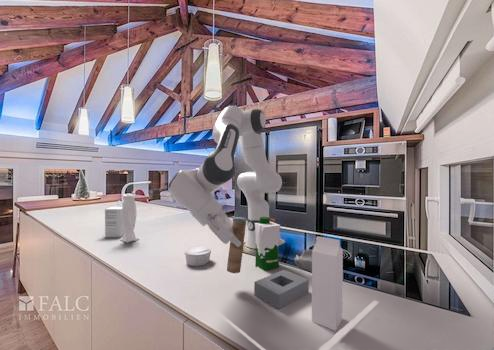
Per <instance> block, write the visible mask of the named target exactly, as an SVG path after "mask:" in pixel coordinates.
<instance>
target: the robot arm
mask: <svg viewBox="0 0 494 350" xmlns="http://www.w3.org/2000/svg"><path fill="white" fill-rule="evenodd" d="M266 119H267V118H266V116H265V113H264V112H263V111H262V110H261V109H258V108H254V109H245V110H242V109H241V108H240V107H238V106H236V105H229V106H226V107H224V109H223V110H222V111H221V112H220V114H219V115H218V117H217V119H216V121H215V123H214V126H213V128H212V133H211V134H212V135H211V136H212V139H213V140H214V142H215V143H216V144H217V145H216V147H215V150H213V151H212V152H210V153H209V154H208V155H207V157H206V158H205V159H204V161H203V163H202V164H201V165H200V166H199V167H197V168H194V169H188V170H187V169H186V170H185V169H180V170H179V171H178V172H176V173H175V174H174V176H173V177H172V179H170V182H168V187H167V189H168V191H169V193H170V194H171V196H173V198H174V199H175V200H176V201H177V202H178V203H179V204H180V205H181V206H182V207H183V208H185V209H187V210H188V211H189V212H190V214H191V216H192V218H194V219H195V220H196V221H197V222H198V223H199V224H200V225H201V226H202V227H205V226H206V225H207V226H208V228H209V229H210V231H211V232H212V233H213V234H214V235H215V236H216V237H217V238H218V239H219V240H220V241H221V242H222V244H225V245H228V243H230V242H232V243H234V244H235V245H236V246H237V247H239V246H240V245H241V244H242V243H241V241H240V240H239V239H238V238H237V237H236V236H235V235H234V233H233V228H232V223H233V221H232V220H231V219H230V218H229V217H228V215H227V214H226V212H224V210H223V205H222V204H221V203H220V202H219V201H218V200H217V199H216V198H215V197H214V196H213V195H212V194H213V193H215V192H217V190H219V188H221V187H222V186H224V184H226V183H227V182H229V181H230V180H231V179H233V178H234V176H235V173H236V162H235V160H236V159H235V156H236V155H235V154H236V150H237V147H238V143H239V139H241V140H240V142H241V148H242V154H243V155H242V156H243V159H244V160H243V161H244V162H245V164H246V165H247V166H249V167H250V168H251V169H252V170H253V171H246V172H242V173H239V175H238V176H237V179H236V185H237V187H238V189H239V190H241V191H242V193H243V194H244V195H243V196H245V198H246V202H247V213H248V215H247V216H248V217H247V218H246V226H247V232H246V238H245V239H246V240H245V242H244V246H245V247H247V248H250V249H255V250H256V231H255V223H257V222H260V217H268V218H270V204H269V202H268V201H267V200H265V199H264V198H263V197H262V193H263V194H271V193H277V192H279V191H280V190H281V188H282V186H283V180H282V177H281V175H280V174H279V173H278V172H276V171H275V170H274V169H273V168H272V167H271V165H270V164H269V162H268V159H267V155H266V151H265V145H264V139H263V136H262V135H263V134H262V132H263V131H264V130H265V128H266V125H267V120H266ZM240 137H241V138H240ZM275 221H276V219H275V218H270V222H273V223H276V222H275ZM285 241H286V240H284V239H282V238H281V234H280V231H279V245H278V247H280V246H282V245H283V244H285V243H286V242H285Z"/></svg>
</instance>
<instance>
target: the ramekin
mask: <svg viewBox="0 0 494 350" xmlns="http://www.w3.org/2000/svg"><path fill="white" fill-rule="evenodd" d="M211 253H212V249H211V248H210V247H208V246H204V245H196V246H190V247H188V248H185V250H184V255H185V263H186V264H187V265H188V266H192V267H200V266H201V267H202V266H204V265H206V264H208V263H209V262H210V257H211Z"/></svg>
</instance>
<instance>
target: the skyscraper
mask: <svg viewBox="0 0 494 350" xmlns="http://www.w3.org/2000/svg"><path fill="white" fill-rule="evenodd" d="M136 196H137V195H136V191H134V190H132V191H131V193H124V194H122V200H123V202H122V206H121V207H122V223H123V229H124V235H123V236H122V239H120V240H119V241H120V242H122V241H123V243H127V244H128V243H133V242H136V241H140V238H137V237H136V234H135V227H136V222H137V205H136V200H135V198H136Z"/></svg>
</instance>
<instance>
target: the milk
mask: <svg viewBox="0 0 494 350" xmlns="http://www.w3.org/2000/svg"><path fill="white" fill-rule="evenodd" d="M311 250H312V272H311V322H312V323H315V324H317V325H319V326H323V327H325V328H327V329H330V330H333V331H335V332H336V331H337V329H338V327H339V325H340V324H341V322H342V320H343V284H344V283H343V280H344V279H343V277H344V276H343V274H344V272H343V269H344V268H343V267H344V264H343V263H344V261H343V260H344V258H343V255H344V250H343V248H342V247H341V242H340V240H339V239H338V238H337V239H335V238H330V237H326V236H325V237H323V236H318V235H317V236H316V238H315V244H314V246H313V249H311Z"/></svg>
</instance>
